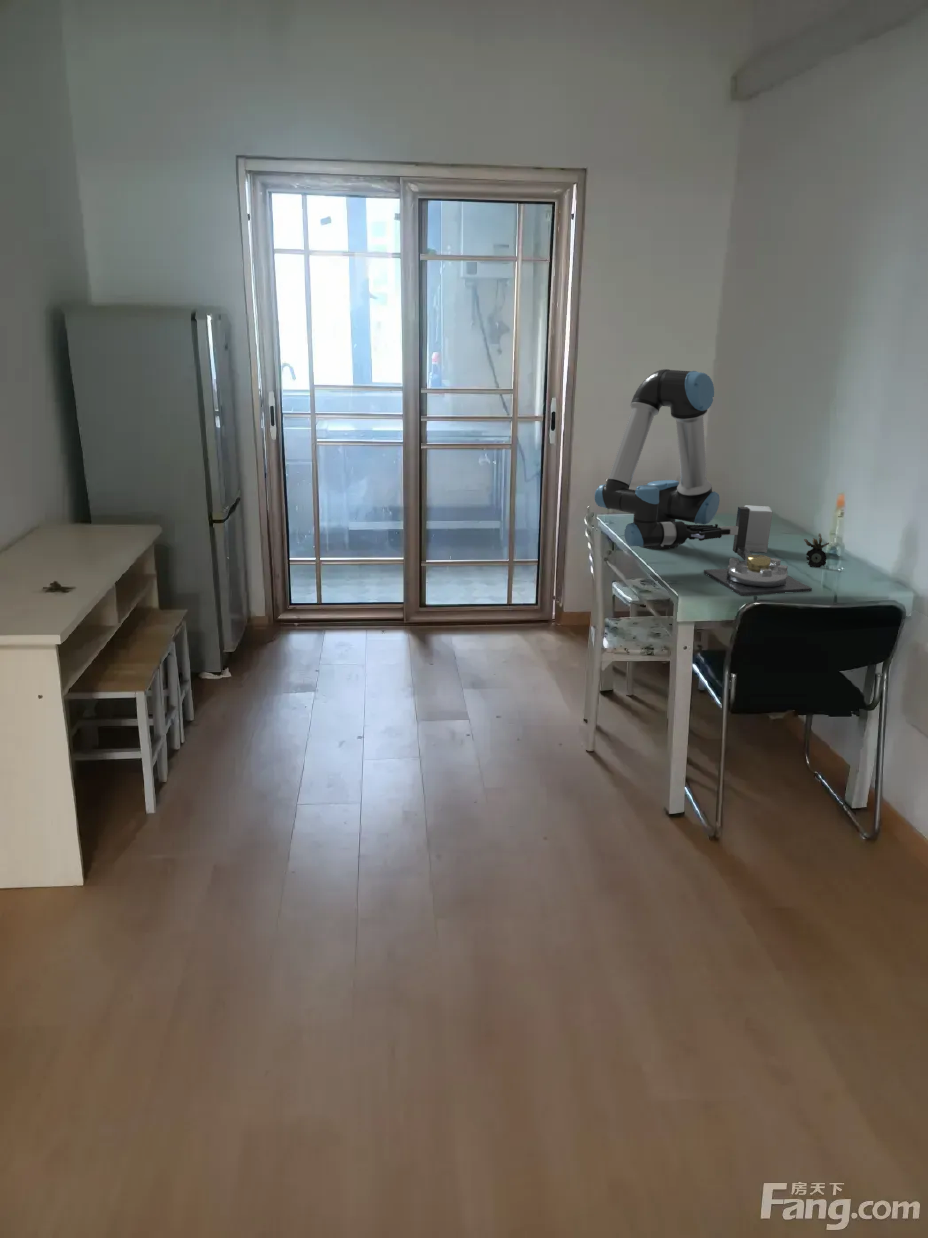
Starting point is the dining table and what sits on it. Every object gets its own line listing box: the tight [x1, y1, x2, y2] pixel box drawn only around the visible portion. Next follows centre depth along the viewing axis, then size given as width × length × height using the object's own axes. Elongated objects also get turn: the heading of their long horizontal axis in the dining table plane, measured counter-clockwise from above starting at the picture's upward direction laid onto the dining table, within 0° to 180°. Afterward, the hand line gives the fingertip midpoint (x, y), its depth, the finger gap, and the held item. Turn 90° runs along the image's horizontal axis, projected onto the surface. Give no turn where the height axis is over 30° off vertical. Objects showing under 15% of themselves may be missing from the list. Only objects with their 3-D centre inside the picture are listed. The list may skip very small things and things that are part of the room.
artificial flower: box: [803, 533, 830, 568], centre depth 307 cm, size 9×22×10 cm, turn 152°
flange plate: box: [703, 554, 813, 597], centre depth 281 cm, size 24×24×8 cm
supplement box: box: [743, 504, 773, 554], centre depth 317 cm, size 9×9×15 cm
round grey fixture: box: [727, 506, 789, 587], centre depth 284 cm, size 30×18×18 cm, turn 1°
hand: (736, 530), depth 295 cm, fingers closed
